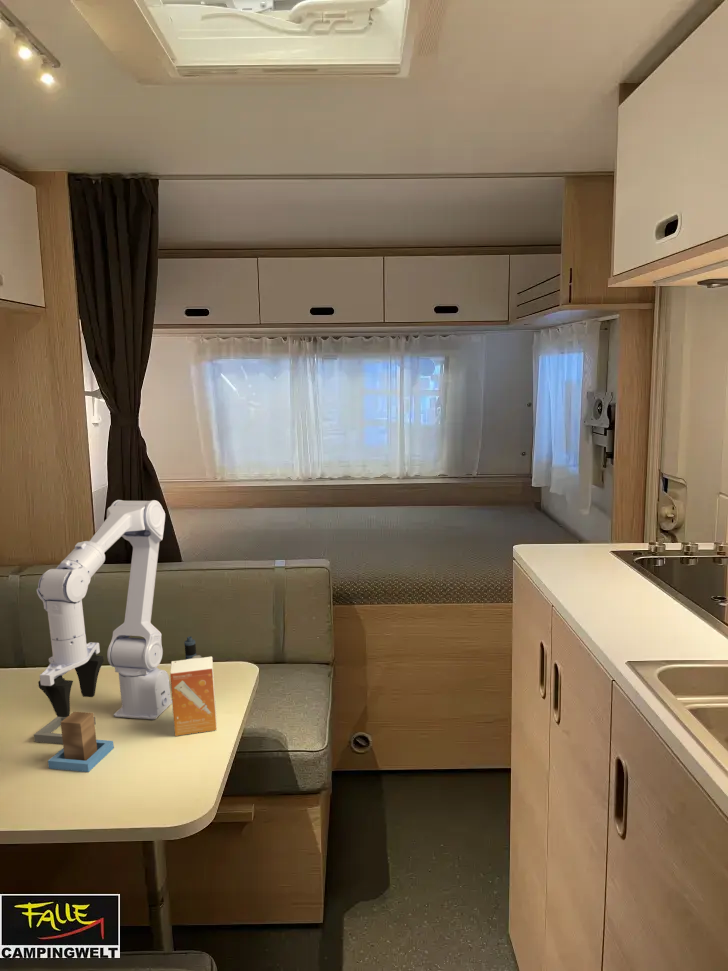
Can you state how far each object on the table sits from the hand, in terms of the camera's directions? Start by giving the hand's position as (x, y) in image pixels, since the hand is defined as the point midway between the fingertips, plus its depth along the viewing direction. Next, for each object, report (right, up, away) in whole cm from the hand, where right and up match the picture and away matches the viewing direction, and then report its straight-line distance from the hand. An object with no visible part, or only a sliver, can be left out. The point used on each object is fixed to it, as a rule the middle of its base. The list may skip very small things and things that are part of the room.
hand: (76, 705), depth 126 cm
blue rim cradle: (0, -10, +2) cm, 10 cm away
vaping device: (+15, -6, +28) cm, 32 cm away
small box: (+19, -8, +12) cm, 24 cm away
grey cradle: (-7, -9, +11) cm, 16 cm away
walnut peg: (0, -10, +2) cm, 10 cm away
